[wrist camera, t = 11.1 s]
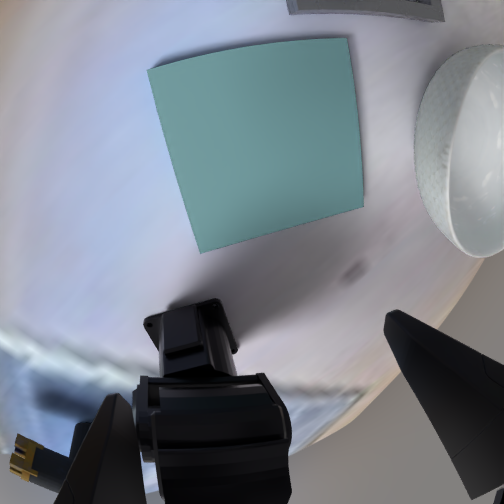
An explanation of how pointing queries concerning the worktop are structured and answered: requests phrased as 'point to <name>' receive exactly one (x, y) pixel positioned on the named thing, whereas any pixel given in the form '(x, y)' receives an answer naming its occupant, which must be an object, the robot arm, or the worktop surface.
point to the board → (261, 137)
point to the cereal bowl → (464, 150)
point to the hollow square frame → (371, 8)
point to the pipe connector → (45, 460)
